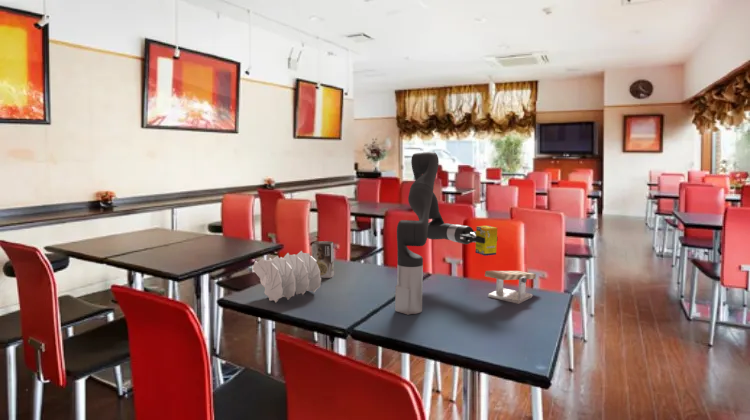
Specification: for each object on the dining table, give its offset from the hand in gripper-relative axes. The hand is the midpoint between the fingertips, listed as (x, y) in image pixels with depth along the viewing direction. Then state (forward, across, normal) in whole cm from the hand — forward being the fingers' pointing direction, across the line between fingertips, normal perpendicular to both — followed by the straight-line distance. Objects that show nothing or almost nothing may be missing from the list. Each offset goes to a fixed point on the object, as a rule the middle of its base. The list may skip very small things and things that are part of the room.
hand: (490, 239), depth 184 cm
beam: (+4, +8, +16) cm, 18 cm away
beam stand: (+4, +8, +24) cm, 25 cm away
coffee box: (-67, -38, +24) cm, 81 cm away
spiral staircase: (-46, -64, +24) cm, 83 cm away
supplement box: (-2, 0, +6) cm, 7 cm away
